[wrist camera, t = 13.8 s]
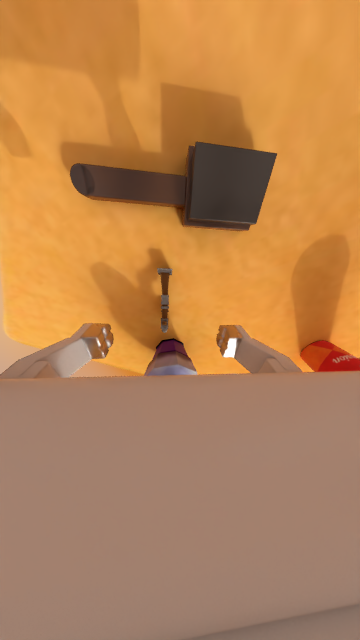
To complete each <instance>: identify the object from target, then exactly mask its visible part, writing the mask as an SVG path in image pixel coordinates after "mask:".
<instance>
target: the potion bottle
mask: <svg viewBox="0 0 360 640" xmlns="http://www.w3.org/2000/svg"><path fill="white" fill-rule="evenodd" d="M156 349H157V350H156V352H155V355H154V357H153V360H152V361H151V362H150V363H149V365H148V367H147V370H146V372H145V374H144V376H158V375H197V371H196V369H195V367H194V365H193V363H192V361H191V359H190V358H189V357H188V355H187V353H186V351H185V349H184V346H183V343H182V342H180V341H178V340H176V339H174V338H173V339H167V340H162V341H161V342H160V343H159V345H158V346H157V347H156Z"/></svg>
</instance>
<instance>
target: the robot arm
mask: <svg viewBox="0 0 360 640" xmlns="http://www.w3.org/2000/svg"><path fill="white" fill-rule="evenodd" d="M110 330H111V327H110V325H109V324H98V323H94V324H93V323H86V324H84V325H83V326H82V327H81V328H80V329H79V330H78V331H77V332H76V333H75V334H74V335H73V336H72V337H71V338H67V339H64V340H62V341H60V342H58V343H55V344H53V345H51V346H49V347H46V348H44V349H42V350H40V351H38V352H35V353H33V354H31V355H29V356H27V357H24V358H22V359H20V360H18V361H16V362H15V363H14V364H13V365H11V366H10V367H9V368H8V369H7V370H5V371H4V372H3V373H2V374H0V640H360V371H337V372H302V371H301V370H300V369H299V368H298V367H297V366H296V365H295V364H294V362H293V361H292V360H291V359H290V358H289V357H287V356H285V355H283V354H281V353H279V352H277V351H276V350H274V349H272V348H270V347H268V346H266V345H264V344H262V343H261V342H259V341H257V340H255V339H251V338H250V336H249V335H248V334H247V333H246V331H245V330H244V329H243V328H242V326H240V325H220V327H219V333H218V334H217V338H216V341H217V345H218V346H219V347H220V348H221V349H220V352H221V354H222V356H223V357H234V358H235V359H236V360H237V361H238V362H239V363H240V364H242V365H243V366H244V367H245V368H246V369H247V370H248V371H250V372H251V373H248V374H203V375H158V376H115V377H72V378H71V377H70V376H71V375H72V374H74V373H75V372H76V371H77V370H78V369H80V368H81V367H82V366H83V365H85V364H86V363H88V362H89V361H90V360H91V359H99V358H105V357H106V355H107V353H108V351H109V350H108V348H109V347H111V346H112V344H113V340H114V338H113V334H112V333H111V332H110ZM68 377H70V378H68Z"/></svg>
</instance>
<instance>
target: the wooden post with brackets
mask: <svg viewBox="0 0 360 640" xmlns="http://www.w3.org/2000/svg"><path fill="white" fill-rule="evenodd" d="M157 269H158V274H159V275H161V283H162V295H161V297H162V301H161V304H162V306H161V309H162V311H161V312H162V318H161V329H162V332H164V333H165V332H167V329H168V318H167V312H169V311H168V309H169V306H168V305H169V303H168V298H169V295H168V283H169V275H172V269H161V268H157Z"/></svg>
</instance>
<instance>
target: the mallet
mask: <svg viewBox="0 0 360 640" xmlns="http://www.w3.org/2000/svg"><path fill="white" fill-rule="evenodd" d="M276 156H277V153H270V152H264V151H257V150H250V149H243V148H236V147H229V146H223V145H216V144H209V143H202V142H196V143H195V146H189V149H188V153H187V157H186V174H185V176H181V175H172V174H164V173H156V172H147V171H139V170H130V169H122V168H113V167H105V166H96V165H88V164H80V163H77V164H74V165H73V166H72V168H71V171H70V176H71V180H72V183H73V185H74V187H75V188H76V189H77V191H78V192H80V193H81V194H82V195H84V196H86V197H88V198H90V199H93V200H103V201H114V202H125V203H135V204H146V205H157V206H167V207H178V208H184V210H183V227H195V228H207V229H220V230H233V231H247V230H249V227H250V225H253V224H256V222H257V219H258V215H259V212H260V209H261V206H262V202H263V199H264V196H265V192H266V189H267V186H268V182H269V179H270V176H271V172H272V169H273V166H274V163H275V159H276Z"/></svg>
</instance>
